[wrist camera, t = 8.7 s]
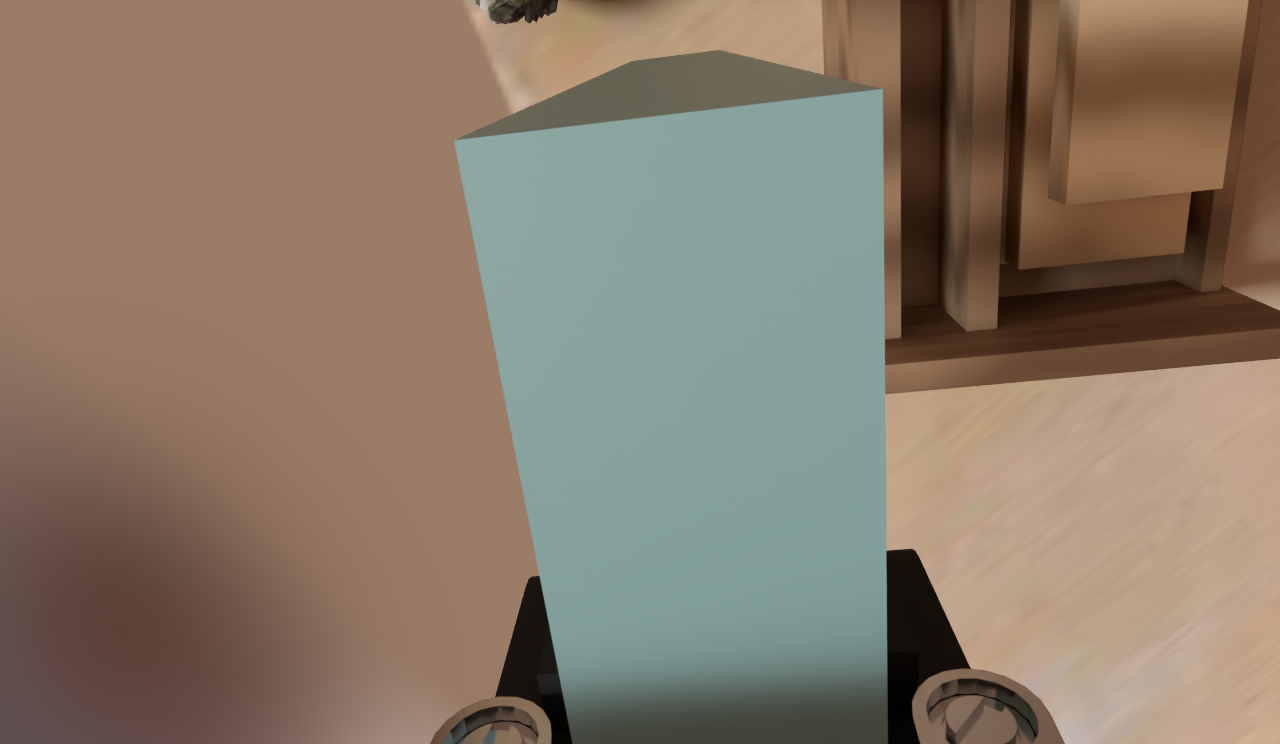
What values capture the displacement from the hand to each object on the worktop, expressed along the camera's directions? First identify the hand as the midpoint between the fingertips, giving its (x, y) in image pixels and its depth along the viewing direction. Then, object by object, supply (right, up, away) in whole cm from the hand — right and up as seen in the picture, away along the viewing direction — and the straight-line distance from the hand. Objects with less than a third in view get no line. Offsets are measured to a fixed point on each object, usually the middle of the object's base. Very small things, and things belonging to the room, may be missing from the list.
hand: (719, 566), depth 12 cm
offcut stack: (+22, +17, +30) cm, 41 cm away
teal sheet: (+1, +5, +14) cm, 15 cm away
